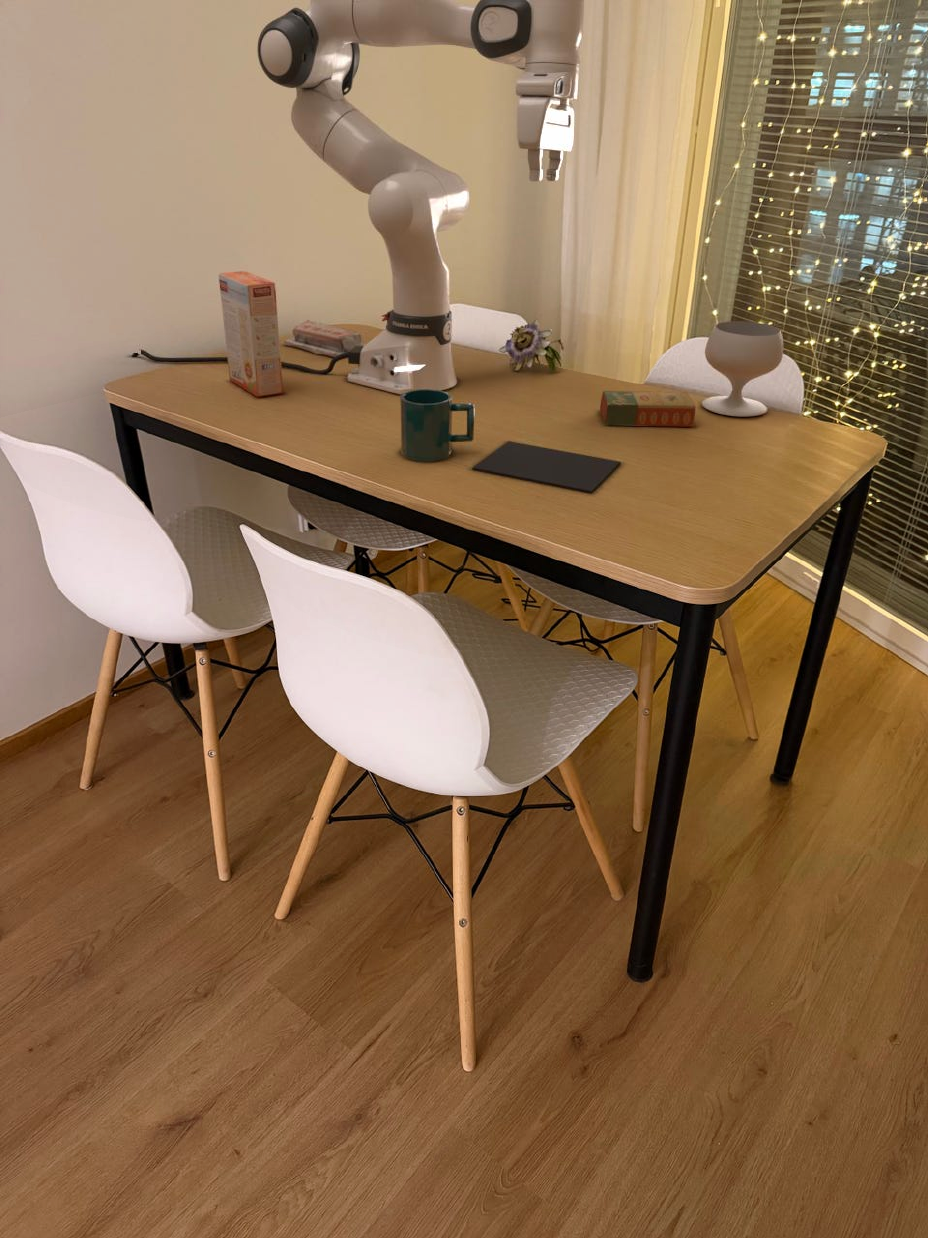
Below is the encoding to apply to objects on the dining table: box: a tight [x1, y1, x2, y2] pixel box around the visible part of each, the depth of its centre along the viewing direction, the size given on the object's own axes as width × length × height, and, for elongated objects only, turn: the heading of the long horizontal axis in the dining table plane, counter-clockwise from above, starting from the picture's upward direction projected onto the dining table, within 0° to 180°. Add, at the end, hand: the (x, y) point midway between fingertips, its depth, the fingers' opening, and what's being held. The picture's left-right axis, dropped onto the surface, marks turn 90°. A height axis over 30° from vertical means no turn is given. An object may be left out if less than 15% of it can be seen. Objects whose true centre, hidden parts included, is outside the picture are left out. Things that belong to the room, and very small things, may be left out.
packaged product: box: [283, 320, 367, 358], centre depth 206 cm, size 18×5×10 cm
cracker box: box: [218, 270, 284, 398], centre depth 175 cm, size 14×6×21 cm, turn 34°
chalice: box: [701, 320, 784, 417], centre depth 171 cm, size 14×14×15 cm
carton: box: [599, 390, 697, 428], centre depth 167 cm, size 8×16×4 cm, turn 88°
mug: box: [399, 389, 475, 463], centre depth 149 cm, size 12×8×10 cm
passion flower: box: [498, 318, 565, 373], centre depth 195 cm, size 11×11×12 cm
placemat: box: [472, 440, 621, 494], centre depth 146 cm, size 20×14×1 cm
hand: (543, 181), depth 154 cm, fingers open, 8 cm apart
